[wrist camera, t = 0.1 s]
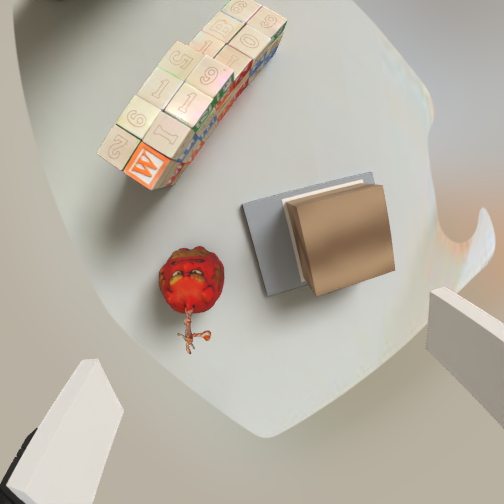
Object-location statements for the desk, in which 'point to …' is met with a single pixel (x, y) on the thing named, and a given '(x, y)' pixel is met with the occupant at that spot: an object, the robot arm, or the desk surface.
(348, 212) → the plinth
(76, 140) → the desk surface
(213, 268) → the red clay folk toy
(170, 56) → the stack of blocks
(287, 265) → the board
